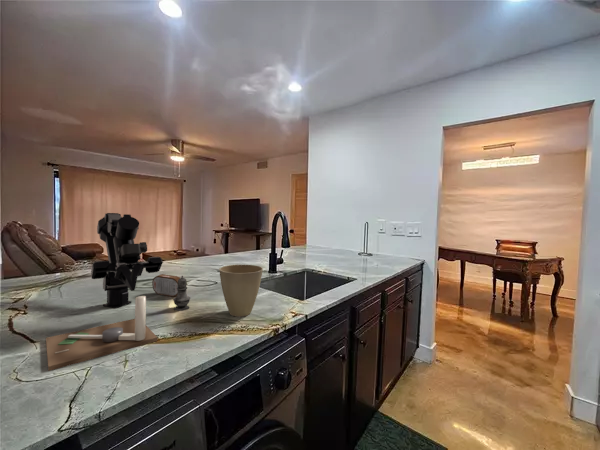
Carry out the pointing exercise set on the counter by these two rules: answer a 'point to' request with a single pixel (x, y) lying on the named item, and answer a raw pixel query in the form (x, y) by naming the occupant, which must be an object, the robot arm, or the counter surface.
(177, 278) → the tin
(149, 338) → the dial plate
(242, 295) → the plant pot
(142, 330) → the crank handle
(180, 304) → the salt shaker
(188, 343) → the counter surface
